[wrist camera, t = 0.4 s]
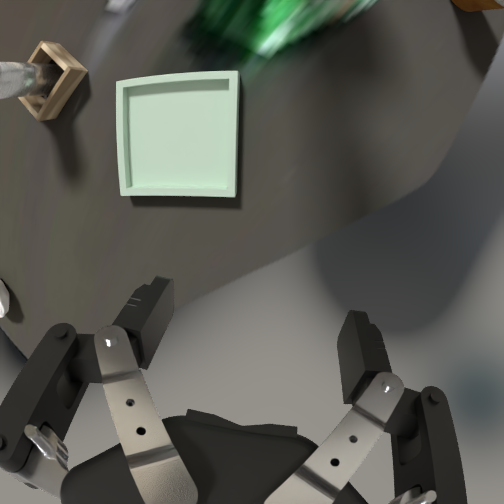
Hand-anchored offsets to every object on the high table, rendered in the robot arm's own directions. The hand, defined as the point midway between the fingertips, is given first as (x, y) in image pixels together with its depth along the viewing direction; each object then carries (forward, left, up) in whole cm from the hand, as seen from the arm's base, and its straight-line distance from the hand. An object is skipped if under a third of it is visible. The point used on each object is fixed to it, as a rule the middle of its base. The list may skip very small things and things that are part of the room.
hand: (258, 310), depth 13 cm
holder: (-17, -33, -28) cm, 47 cm away
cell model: (+24, -61, -29) cm, 72 cm away
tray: (-6, -12, -28) cm, 31 cm away
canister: (-17, -33, -28) cm, 47 cm away
